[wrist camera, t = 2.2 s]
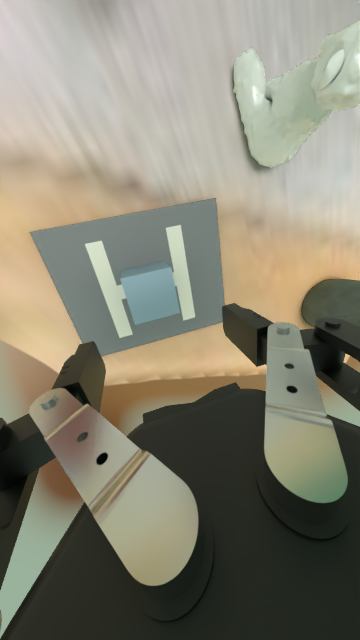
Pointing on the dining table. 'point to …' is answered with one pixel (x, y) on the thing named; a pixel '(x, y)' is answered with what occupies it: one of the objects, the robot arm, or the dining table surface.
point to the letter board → (128, 252)
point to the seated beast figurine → (296, 96)
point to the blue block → (150, 292)
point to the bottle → (333, 301)
